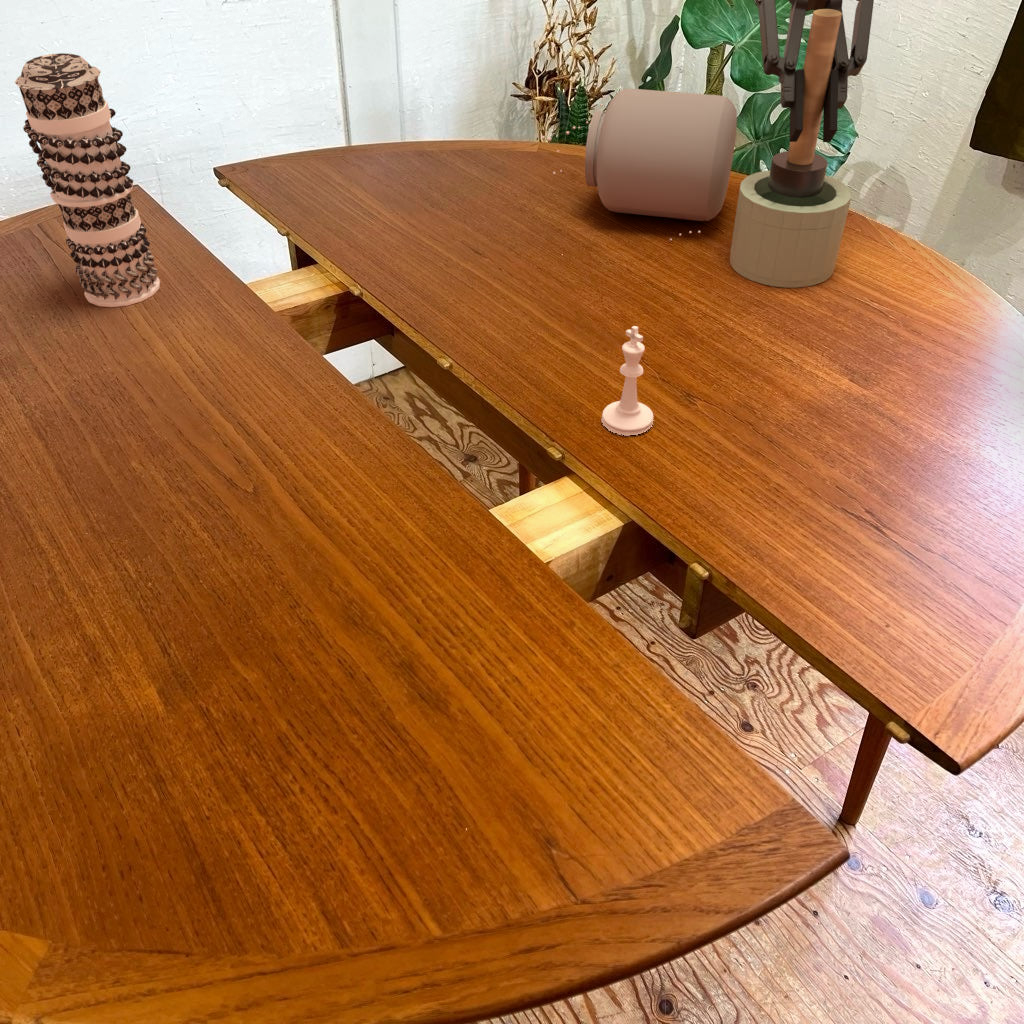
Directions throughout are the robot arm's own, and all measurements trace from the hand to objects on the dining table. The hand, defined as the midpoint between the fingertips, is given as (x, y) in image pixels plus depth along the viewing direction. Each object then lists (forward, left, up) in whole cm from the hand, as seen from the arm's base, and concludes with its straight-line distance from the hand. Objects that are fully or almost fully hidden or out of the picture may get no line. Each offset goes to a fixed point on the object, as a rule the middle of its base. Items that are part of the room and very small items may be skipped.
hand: (813, 135), depth 101 cm
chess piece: (+14, +32, -17) cm, 39 cm away
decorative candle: (+75, +19, -17) cm, 79 cm away
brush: (+1, -4, -7) cm, 8 cm away
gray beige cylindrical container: (+1, -4, -16) cm, 17 cm away
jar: (+21, -14, -17) cm, 30 cm away
